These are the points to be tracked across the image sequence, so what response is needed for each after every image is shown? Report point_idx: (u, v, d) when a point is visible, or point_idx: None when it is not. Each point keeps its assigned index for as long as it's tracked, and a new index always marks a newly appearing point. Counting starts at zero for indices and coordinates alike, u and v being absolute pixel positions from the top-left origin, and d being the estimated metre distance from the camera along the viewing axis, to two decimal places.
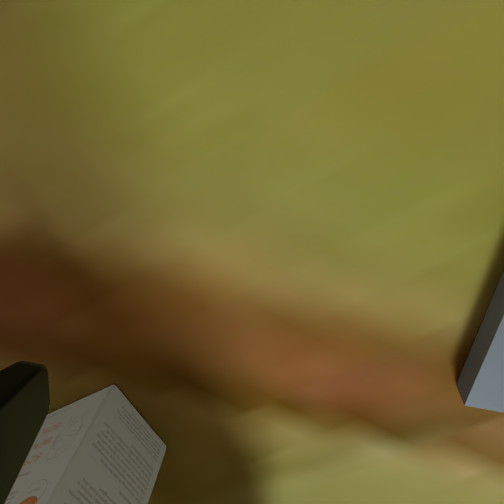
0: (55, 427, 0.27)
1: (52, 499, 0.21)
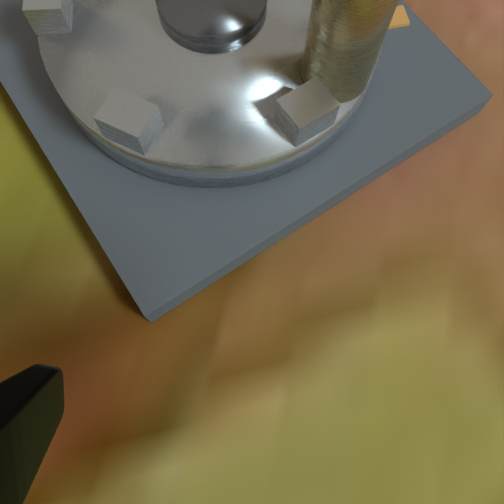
0: None
1: None
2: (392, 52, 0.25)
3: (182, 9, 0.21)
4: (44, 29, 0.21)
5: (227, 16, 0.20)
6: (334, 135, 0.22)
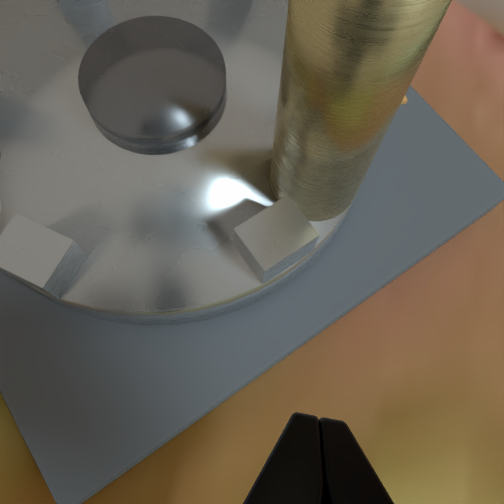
0: None
1: None
2: (386, 138, 0.20)
3: (114, 102, 0.16)
4: None
5: (172, 111, 0.16)
6: (315, 255, 0.17)
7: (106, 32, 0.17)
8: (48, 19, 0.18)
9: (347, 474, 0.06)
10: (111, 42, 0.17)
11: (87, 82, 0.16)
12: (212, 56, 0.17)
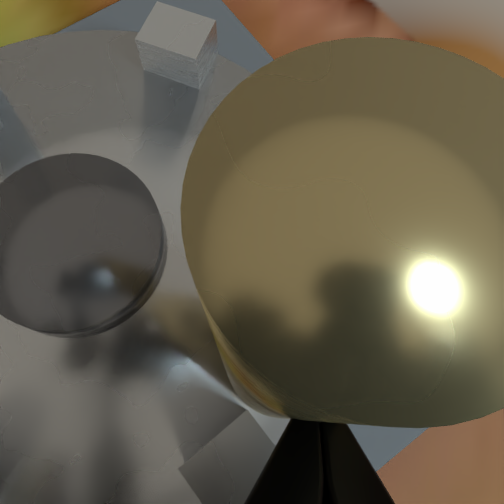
0: None
1: None
2: None
3: (16, 284, 0.12)
4: None
5: (93, 291, 0.12)
6: None
7: (4, 182, 0.13)
8: None
9: (348, 474, 0.06)
10: (11, 196, 0.13)
11: None
12: (142, 207, 0.13)
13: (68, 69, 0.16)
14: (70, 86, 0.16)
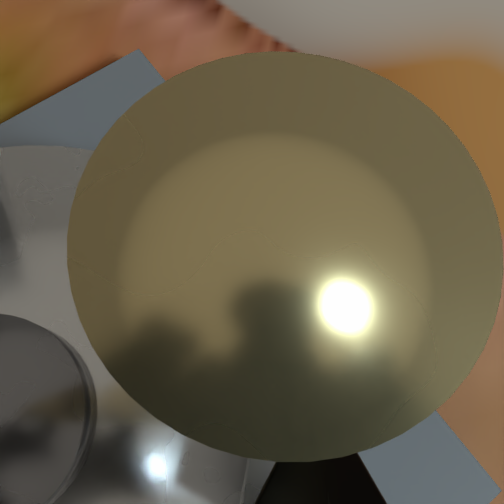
0: None
1: None
2: None
3: None
4: None
5: (41, 448, 0.11)
6: None
7: None
8: None
9: (340, 472, 0.06)
10: None
11: None
12: (28, 337, 0.12)
13: None
14: None
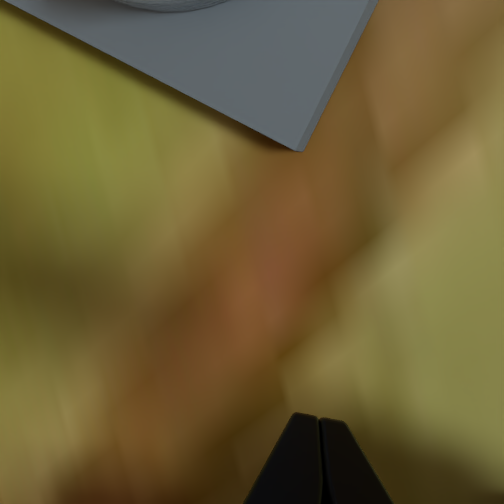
0: None
1: None
2: None
3: None
4: None
5: None
6: None
7: None
8: None
9: (347, 474, 0.06)
10: None
11: None
12: None
13: None
14: None
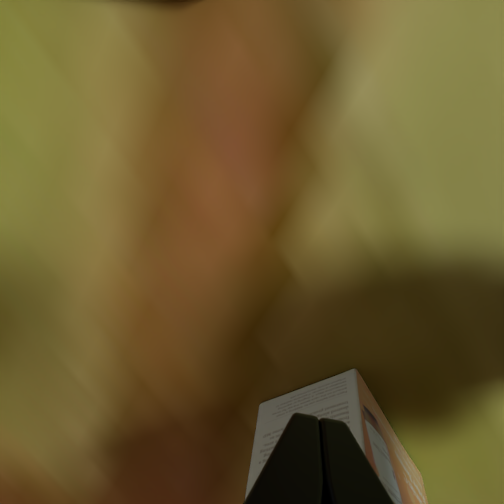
0: None
1: None
2: None
3: None
4: None
5: None
6: None
7: None
8: None
9: (347, 474, 0.06)
10: None
11: None
12: None
13: None
14: None
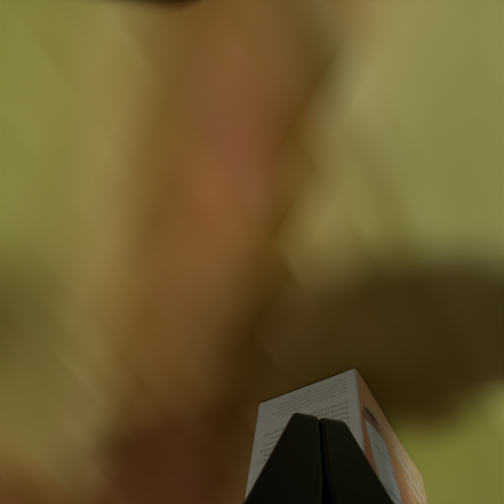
0: None
1: None
2: None
3: None
4: None
5: None
6: None
7: None
8: None
9: (347, 474, 0.06)
10: None
11: None
12: None
13: None
14: None
